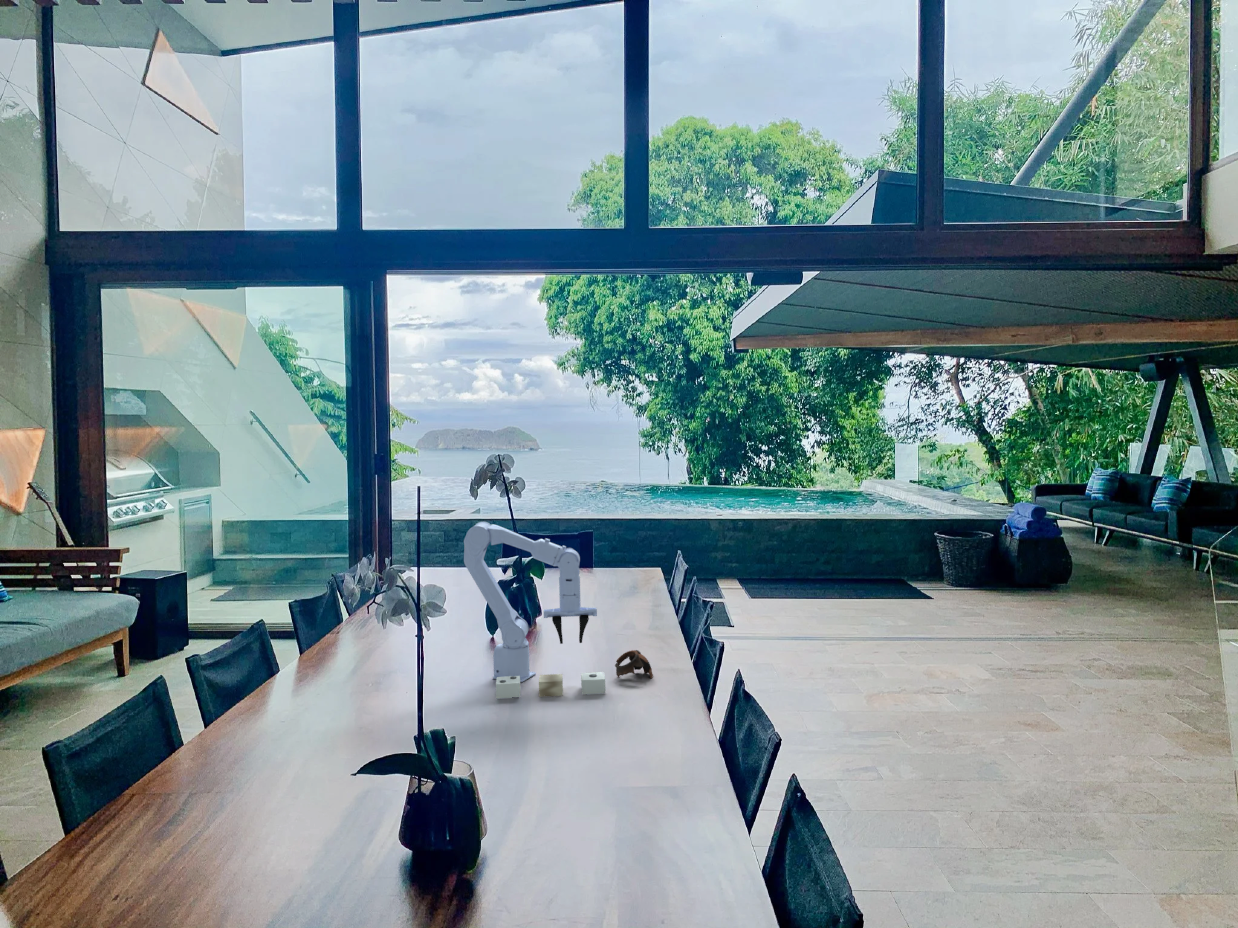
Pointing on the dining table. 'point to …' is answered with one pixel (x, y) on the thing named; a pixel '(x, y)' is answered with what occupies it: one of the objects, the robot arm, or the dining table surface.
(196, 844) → the dining table surface
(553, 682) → the maple block
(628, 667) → the rusty brown arched frame
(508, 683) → the two-dot block
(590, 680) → the one-dot block
